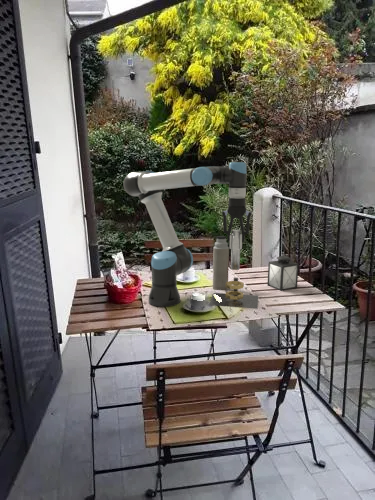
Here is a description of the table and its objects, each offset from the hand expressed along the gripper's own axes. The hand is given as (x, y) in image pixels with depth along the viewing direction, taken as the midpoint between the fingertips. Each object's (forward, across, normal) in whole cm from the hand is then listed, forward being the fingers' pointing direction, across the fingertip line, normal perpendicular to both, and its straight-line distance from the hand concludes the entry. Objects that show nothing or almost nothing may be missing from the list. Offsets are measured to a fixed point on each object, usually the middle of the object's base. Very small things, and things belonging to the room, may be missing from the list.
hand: (235, 248), depth 189 cm
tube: (+10, 0, 0) cm, 10 cm away
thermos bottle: (+27, -9, +21) cm, 35 cm away
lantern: (+27, +23, +31) cm, 47 cm away
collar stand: (+27, 0, 0) cm, 27 cm away
